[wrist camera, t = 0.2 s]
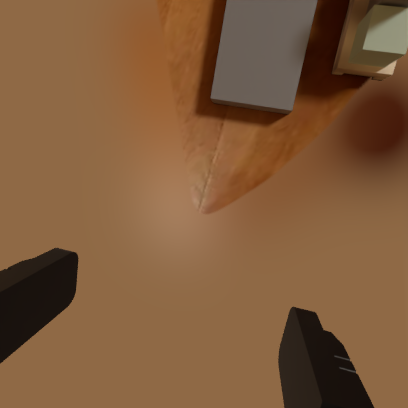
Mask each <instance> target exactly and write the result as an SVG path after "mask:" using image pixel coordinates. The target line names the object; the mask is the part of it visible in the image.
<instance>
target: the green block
mask: <svg viewBox="0 0 408 408" xmlns="http://www.w3.org/2000/svg"><path fill="white" fill-rule="evenodd" d="M407 47H408V8H404V7H394V6H384V5H374V6H373V7H372V8H371V10H370V11H369V12H368V13H367V14H366V16H365V17H364V18H363V19H362V20H361V22H360V23H359V24H358V27H357V31H356V34H355V38H354V42H353V46H352V50H351V53H350V57H349V61H348V63H352V64H360V65H368V66H376V67H384V68H385V67H387V66H388V65H390V64H391V63H393V62H394V61H396V60H397V59H399V58H400V57H402V56H404V55H405V54H406V50H407Z"/></svg>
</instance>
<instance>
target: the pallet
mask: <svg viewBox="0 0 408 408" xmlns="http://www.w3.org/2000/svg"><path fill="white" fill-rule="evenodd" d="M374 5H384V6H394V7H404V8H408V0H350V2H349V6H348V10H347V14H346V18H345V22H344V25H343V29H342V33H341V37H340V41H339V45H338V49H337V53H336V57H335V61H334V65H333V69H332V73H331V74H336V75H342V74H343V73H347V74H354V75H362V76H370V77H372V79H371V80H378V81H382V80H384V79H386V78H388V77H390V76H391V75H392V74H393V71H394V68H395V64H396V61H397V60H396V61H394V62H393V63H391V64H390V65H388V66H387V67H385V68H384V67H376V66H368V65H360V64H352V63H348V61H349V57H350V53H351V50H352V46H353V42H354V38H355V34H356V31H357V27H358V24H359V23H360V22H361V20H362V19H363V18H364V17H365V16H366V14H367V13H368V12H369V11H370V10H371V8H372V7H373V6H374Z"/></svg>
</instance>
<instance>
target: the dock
mask: <svg viewBox="0 0 408 408" xmlns="http://www.w3.org/2000/svg"><path fill="white" fill-rule="evenodd" d="M316 5H317V0H227V2H226V8H225V14H224V20H223V26H222V32H221V38H220V44H219V50H218V56H217V62H216V68H215V74H214V80H213V86H212V92H211V100H212V101H213V103H217V104H223V105H230V106H236V107H243V108H249V109H256V110H262V111H269V112H276V113H282V114H289V113H290V112H291V111H292V109H293V105H294V100H295V96H296V91H297V87H298V83H299V78H300V74H301V70H302V65H303V61H304V57H305V52H306V48H307V44H308V39H309V35H310V31H311V26H312V22H313V18H314V13H315V9H316Z"/></svg>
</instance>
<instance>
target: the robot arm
mask: <svg viewBox="0 0 408 408" xmlns="http://www.w3.org/2000/svg"><path fill="white" fill-rule="evenodd" d="M77 270H78V255H77V254H76V253H75V252H71V251H67V250H63V249H59V248H54V249H52V250H50V251H48V252H46V253H44V254H42V255H40V256H37V257H35V258H32V259H29V260H25V261H21V262H19V263H17V264H15V265H13V266H11V267H9V268H8V269H4V270H2V271H0V363H1V362H3V361H4V360H5V359H6V358H7V357H8V356H10V355H11V354H12V353H13V352H15V351H16V350H17V349H18V348H19V347H20V346H21V345H23V344H24V343H25V342H26V341H28V340H29V339H30V338H31V337H32V336H34V335H35V334H36V333H37V332H38V331H39V330H41V329H42V328H43V327H44V326H45V325H47V324H48V323H49V322H50V321H51V320H52V319H54V318H55V317H56V316H57V315H58V314H60V313H61V312H62V311H63V310H64V309H65V308H67V307H68V306H69V304H70V303H71V302H72V300H73V298H74V295H75V292H76V282H77ZM278 360H279V361H278V363H279V372H280V379H281V386H282V392H283V400H284V407H285V408H374V406H373V404H372V402H371V400H370V398H369V396H368V394H367V392H366V390H365V388H364V386H363V384H362V382H361V380H360V378H359V376H358V374H356V370H355V368H354V366H353V364H352V362H351V361H350V358H349V356H348V354H347V352H346V350H345V348H344V346H343V344H342V343H341V342H340V341H339V340H338V339H337V338H336V337H335V336H334V335H333V334H332V333H331V332H328V331H325V330H323V328H322V325H321V323H320V321H319V319H318V316H317V314H316V313H315V312H312V311H308V310H304V309H300V308H296V307H292V308H291V309H290V312H289V315H288V319H287V322H286V326H285V330H284V333H283V337H282V341H281V344H280V349H279V359H278Z"/></svg>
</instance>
